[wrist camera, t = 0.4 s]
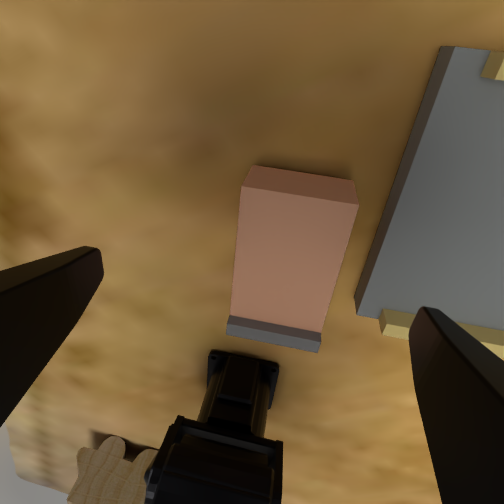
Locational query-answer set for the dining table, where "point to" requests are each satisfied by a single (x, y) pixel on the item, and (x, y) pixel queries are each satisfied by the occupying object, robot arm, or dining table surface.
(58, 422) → the dining table surface
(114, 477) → the toy train
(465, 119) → the dock
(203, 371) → the dining table surface
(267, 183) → the pink panel on base
